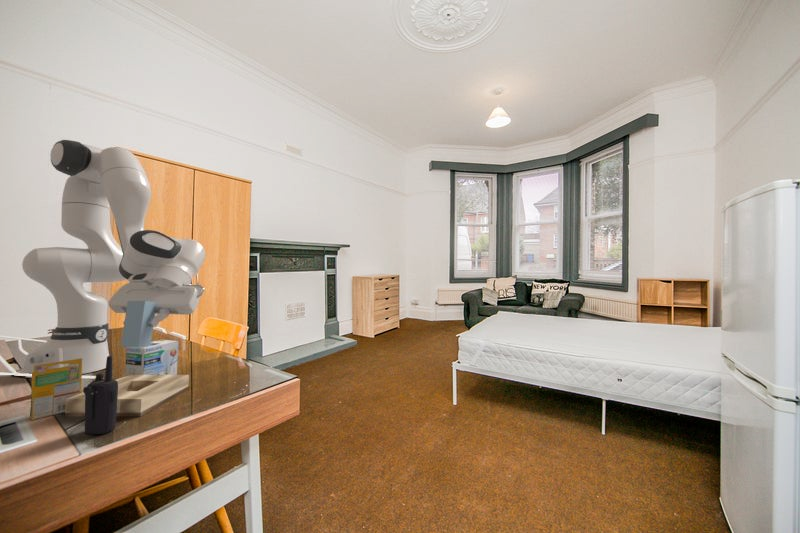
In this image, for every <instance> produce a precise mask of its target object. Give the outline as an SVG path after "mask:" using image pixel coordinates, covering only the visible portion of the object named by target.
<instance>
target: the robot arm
mask: <svg viewBox="0 0 800 533" xmlns="http://www.w3.org/2000/svg"><path fill="white" fill-rule="evenodd" d="M50 162H51V163H50V164H51V165H52V166H53V168H54V169H55V170H56V171H58V172H60V173H62V174H65V175H67V176H68V178H67V179H66V182H65V183H64V186H63V187H64V188H63V190H62V191H63V192H62V198H61V219H60V221H61V223H60V224H61V228H62V230H63V231H64V232H65V233H66V234H68V235H70V236H71V237H74V238H76V239H78V240H81V241H82V242H84V244H86V246H87V248H79V247H63V246H62V247H61V246H55V247H53V246H52V247H39V248H34V249H32V250H31V251H29V252H28V253H26V255H25V256H24V258H23V259H22V264H21V266H22V270H23V273H24V274H25V275H26V276H27V277H28V278H29V279H31V280H33V281H34V282H37V283H39V284H40V285H42V286H43V287H45V288H46V289H47V290H48V291H49V292H50V293H51V294H52V296H53V298H54V300H55V303H56V310H57V312H56V313H57V325H56V327H55V328H52V329H48V330H47V331H48V332H47V334H51V335H50V338H49V340H47V341H46V342H44V343H42V344H41V345H40V346H38V347H37V348H35V349H32V350H31V351H30V352H28V353H27V355H26V356H25V359H24V365H23V367H21V368H18V369H16V370H15V371H16V372H20V373H29V374H32V372H34V366H35V365H41V364H48V363H55V362H61V361H68V360H74V359H81V358H82V375H83V374H88V373H93V372H97V371H98V372H99V371H101V370H104V369H105V370H106V361H107V357H108V356H110V353H109V345H108V335H109V331H110V330H109V329H110V325H109V323H108V312H109V311H108V310H109V309H108V308H110V309H111V310H112V311H113V312H114V313H115V314H126V309H127V303H128V301H150V302H156V304H155V306H154V307H155V308H156V311H155V317H154V318H150V319H149V321H147V325H148V326H149V327H153V328H156V327H157V326H158V325H159V323H160V322H162V321H163V320H165V319H167V318H168V317H169V316H170V315H183V316H184V315H189V316H190V315H192V314H193V313H194V312H195V311H196V309H197V307H198V305H199V302H200V300H201V296H202V295H203V294H204V293H205V287H204V286H202V285H201V284H191V283H192V282H193V277H195V276H196V275H197V274H198V273H199V271H200V269H201V268H202V265H203V264H204V262H205V258H206V250H205V247H204V245H202V244H201V243H200V242H199V241H197V240H195V239H192V238H177V237H171V236H168V235H166V234H165V233H162V232H160V231H157V230H155V229H154V230H153V229H151V230H150V229H145V220H146V215H147V213H148V209H149V206H150V202H151V199H152V190H151V184H150V180H149V178H148V176H147V173H146V171H145V169H144V167H143V165H142V164H141V162H140V161H139V159H138V158H137V156H136V154H134V153H132V152H131V151H130V150H127V149H126V148H123V147H115V146H111V147H108V148H104V149H102V148H99V147H96V146H93V145H89V144H84V143H81V142H79V141H75V140H70V139H61V140H59V141H56V142H55V143H54V144H53V146H52V148H51V150H50ZM111 214H112V216H113V219H114V222H115V227H116V232H117V235H118V239H119V243H120V244H119V243H118V242H117V240H116V239H115V237H114V235H113V232H112V227H111ZM123 281H128V282H127V283H125V284H123V285H122V286H121V287H120V288H118V290H117V291H116V292H115V293H113V295H112V296H111V298H110V299H109V300H107V299H106V298H105V297H104V296H102V295H99V294H97V293H95V292H91V291H87V290H86V289H85V287H84V284H85V283H116V282H123ZM124 322H125V319H124V321H123V322H122V323H123V325H124ZM69 365H70V364H68V363H67V364H57V365H54V366H49V369H52V368H61V367H66V366H69ZM26 378H30V379H32V377H26Z"/></svg>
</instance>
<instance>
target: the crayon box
mask: <svg viewBox="0 0 800 533" xmlns="http://www.w3.org/2000/svg"><path fill="white" fill-rule="evenodd" d="M67 363H68V364H70V365H69V366H66V367H61V368H52V369H49V366H54V365H57V364H67ZM82 377H83V374H82V358H81V359H74V360H68V361H61V362H55V363H48V364H41V365H35V366H34V372H32V378H31V388H30V389H31V391H30V392H31V393H30V408H29V409H30V411H29V412H30V413H29V417H30V420H31V421H34V420H33V419H35V420H37V419H41V418H47V417H49V416H54V415H57V414H61V413H62V414H63V413H65V407H66V399H67V398H70V397H72V396H75V395H77V394H80V393H82V379H83V378H82Z"/></svg>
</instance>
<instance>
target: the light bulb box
mask: <svg viewBox="0 0 800 533" xmlns="http://www.w3.org/2000/svg"><path fill="white" fill-rule="evenodd" d="M125 355H126V356H125V371H124V372H125V373H124V375H125V376H127V375H178V360H179V359H178V357H179V341H178V340H170V339H169V340H168V339H158V340H154V341H151V346H144V347H126V351H125Z"/></svg>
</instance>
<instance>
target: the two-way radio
mask: <svg viewBox="0 0 800 533" xmlns="http://www.w3.org/2000/svg"><path fill="white" fill-rule="evenodd" d="M104 374H105V376H104ZM83 392H84V393H85V416H84V433H86V434H90V435H100V434H101V435H103V434H106V433H110V432H111V431H113V430H115V428H116V426H117V425H116V423H117V422H116V421H117V416H116V413H117V397H118V382H117V381H116V379H113V356H112V355H109V356H108V357H107V361H106V368H105V372H104V373H103V372H98V373H96V375H95V377H94V380H93V381H91V382H90V383H89V384H87V386H84V387H83ZM83 392H82V393H83Z"/></svg>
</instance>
